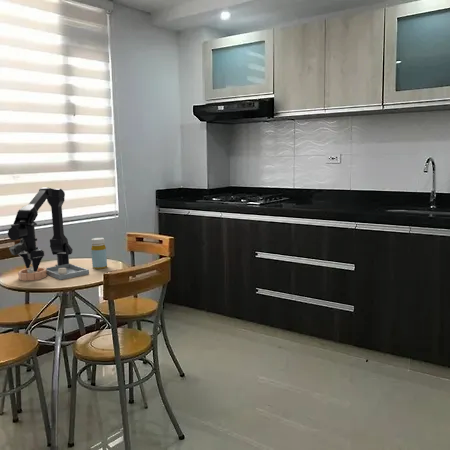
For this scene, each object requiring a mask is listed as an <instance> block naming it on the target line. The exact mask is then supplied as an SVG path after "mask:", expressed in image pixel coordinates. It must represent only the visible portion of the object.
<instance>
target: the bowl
mask: <svg viewBox="0 0 450 450" xmlns="http://www.w3.org/2000/svg"><path fill="white" fill-rule="evenodd" d="M46 268H47V267H40V266H39V267H38V272H35V273H28V271H27V270H28V269H29V268H28V269H27V268H23V269H21V270H19V271H18V273H17V274H18V279H19V280H20V281H35V280H37V281H38V280H41V279H43V278H46V277H47V276H48V275H47V269H46Z"/></svg>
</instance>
